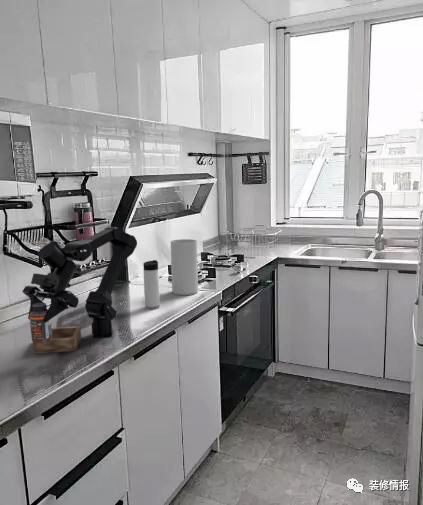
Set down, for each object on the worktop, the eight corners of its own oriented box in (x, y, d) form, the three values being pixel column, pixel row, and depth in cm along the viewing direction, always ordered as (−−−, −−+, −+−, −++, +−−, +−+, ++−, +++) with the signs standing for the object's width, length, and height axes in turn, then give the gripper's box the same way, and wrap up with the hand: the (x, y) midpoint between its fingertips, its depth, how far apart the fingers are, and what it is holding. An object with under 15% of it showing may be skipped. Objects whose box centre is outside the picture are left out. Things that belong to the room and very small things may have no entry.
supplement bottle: (27, 343, 138) (24, 306, 136) (38, 336, 143) (35, 301, 141) (46, 344, 137) (43, 307, 135) (56, 337, 142) (53, 301, 140)
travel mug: (163, 306, 199) (161, 260, 196) (153, 310, 194) (151, 263, 191) (151, 304, 203) (149, 259, 199) (142, 308, 197) (140, 262, 194)
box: (81, 337, 162) (80, 326, 161) (75, 350, 149) (74, 338, 149) (42, 339, 160) (41, 328, 159) (33, 353, 147) (32, 341, 147)
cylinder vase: (175, 289, 230) (173, 239, 226) (200, 289, 228) (199, 239, 224) (169, 295, 218) (167, 242, 214) (195, 295, 216) (194, 243, 212)
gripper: (24, 260, 144) (-3, 303, 136) (68, 264, 135) (42, 311, 127) (46, 279, 152) (21, 321, 144) (89, 284, 143) (65, 329, 136)
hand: (36, 320), depth 138 cm, fingers closed on supplement bottle, 6 cm apart
